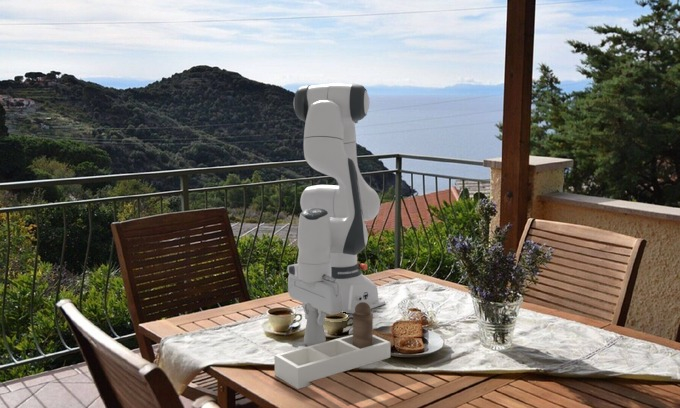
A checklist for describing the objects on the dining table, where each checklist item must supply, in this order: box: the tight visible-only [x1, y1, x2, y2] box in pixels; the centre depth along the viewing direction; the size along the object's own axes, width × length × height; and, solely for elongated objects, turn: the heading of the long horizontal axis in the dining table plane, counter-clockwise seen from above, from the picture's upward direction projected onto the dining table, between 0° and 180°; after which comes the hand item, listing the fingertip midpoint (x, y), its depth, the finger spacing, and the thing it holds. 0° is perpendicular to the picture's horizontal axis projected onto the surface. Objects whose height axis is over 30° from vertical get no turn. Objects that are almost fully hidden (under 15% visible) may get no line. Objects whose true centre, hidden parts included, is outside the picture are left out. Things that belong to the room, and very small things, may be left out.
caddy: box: [273, 334, 392, 390], centre depth 165 cm, size 28×10×5 cm, turn 127°
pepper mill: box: [352, 302, 374, 349], centre depth 169 cm, size 5×5×14 cm
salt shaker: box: [303, 303, 327, 347], centre depth 178 cm, size 6×6×13 cm
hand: (314, 322), depth 178 cm, fingers closed on salt shaker, 4 cm apart
